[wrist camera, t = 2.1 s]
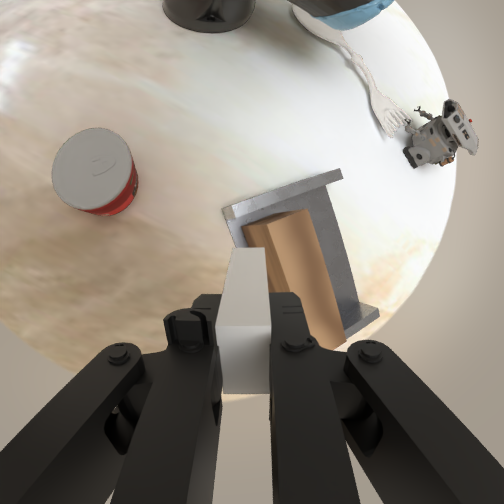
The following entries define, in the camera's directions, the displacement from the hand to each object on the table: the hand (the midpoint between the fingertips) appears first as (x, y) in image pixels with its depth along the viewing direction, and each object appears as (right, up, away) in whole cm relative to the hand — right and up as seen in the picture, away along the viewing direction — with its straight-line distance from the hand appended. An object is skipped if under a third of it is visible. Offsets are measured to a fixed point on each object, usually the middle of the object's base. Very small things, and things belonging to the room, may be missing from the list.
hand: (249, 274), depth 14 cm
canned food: (-18, +9, +18) cm, 27 cm away
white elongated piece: (+18, +36, +29) cm, 49 cm away
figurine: (+32, +23, +34) cm, 52 cm away
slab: (+4, -3, +25) cm, 26 cm away
